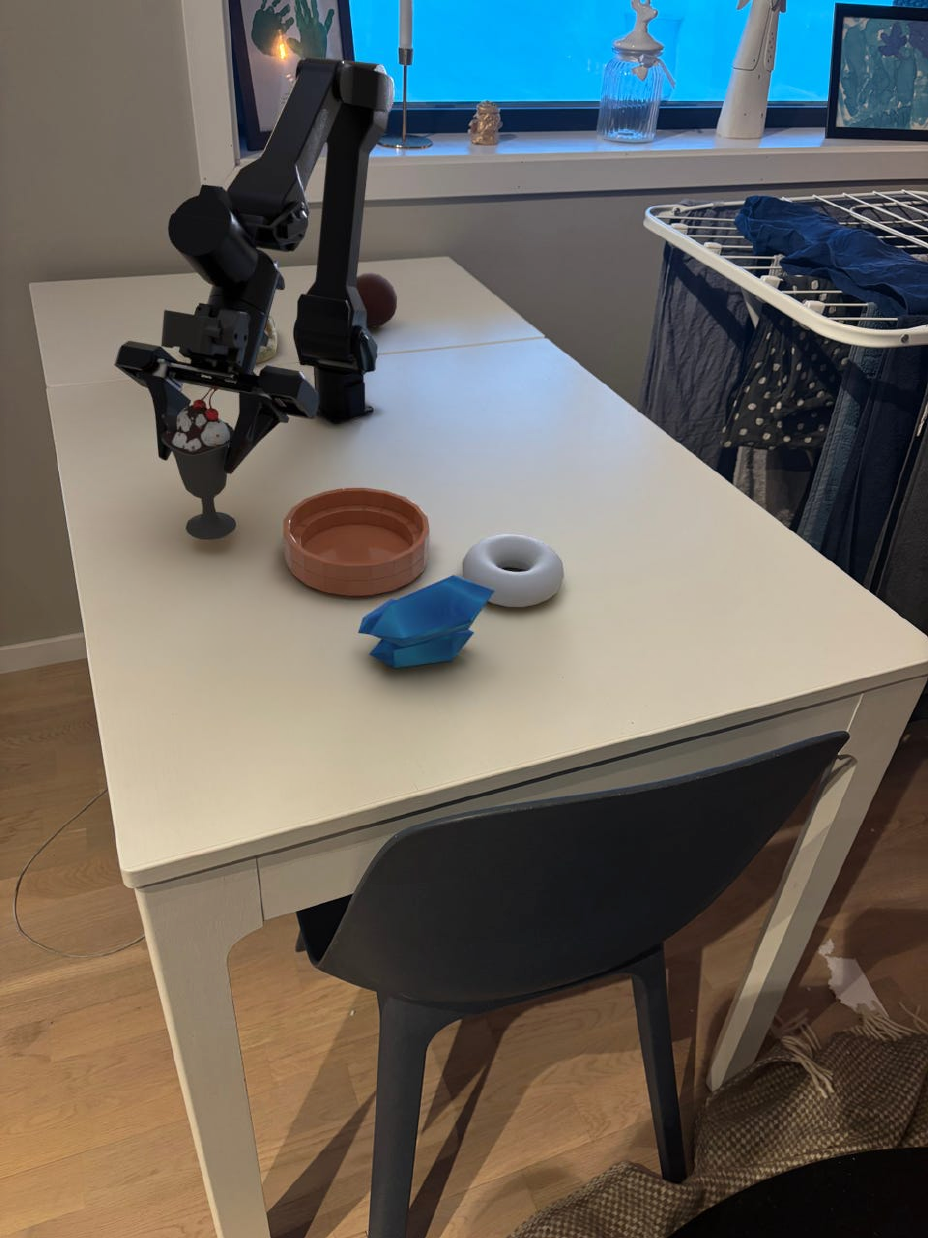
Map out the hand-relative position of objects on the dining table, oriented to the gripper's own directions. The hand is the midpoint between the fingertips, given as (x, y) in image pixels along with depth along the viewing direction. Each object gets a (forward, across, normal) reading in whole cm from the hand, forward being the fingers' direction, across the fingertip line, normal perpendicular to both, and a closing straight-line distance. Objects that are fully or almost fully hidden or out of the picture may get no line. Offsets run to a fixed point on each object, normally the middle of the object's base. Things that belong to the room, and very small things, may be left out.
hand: (194, 465), depth 88 cm
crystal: (+13, +26, +1) cm, 29 cm away
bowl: (+4, +14, +10) cm, 18 cm away
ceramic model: (-27, -21, +41) cm, 54 cm away
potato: (-38, -7, +53) cm, 65 cm away
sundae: (+4, 0, +6) cm, 8 cm away
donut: (+3, +30, +11) cm, 32 cm away
